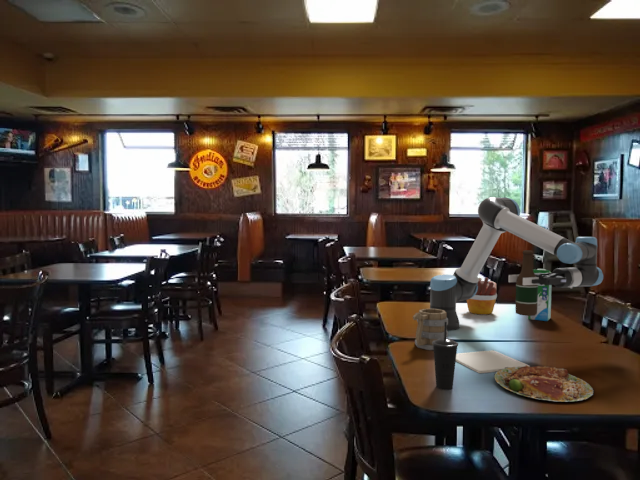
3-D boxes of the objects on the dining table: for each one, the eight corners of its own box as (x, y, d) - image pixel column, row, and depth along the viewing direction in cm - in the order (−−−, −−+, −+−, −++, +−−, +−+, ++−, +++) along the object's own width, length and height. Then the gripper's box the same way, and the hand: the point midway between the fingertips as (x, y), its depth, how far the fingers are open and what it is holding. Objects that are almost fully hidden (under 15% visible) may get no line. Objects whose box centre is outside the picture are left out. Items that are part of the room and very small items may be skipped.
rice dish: (607, 412, 139) (609, 392, 138) (502, 400, 143) (503, 382, 143) (575, 378, 166) (576, 362, 166) (487, 370, 171) (488, 354, 170)
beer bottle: (539, 316, 187) (541, 251, 185) (517, 315, 188) (518, 251, 187) (534, 312, 194) (536, 249, 193) (513, 311, 196) (515, 249, 194)
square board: (446, 356, 186) (446, 354, 186) (493, 352, 192) (493, 350, 192) (479, 373, 167) (479, 371, 167) (529, 368, 173) (529, 365, 173)
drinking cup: (428, 382, 157) (429, 319, 156) (452, 382, 158) (453, 319, 157) (435, 391, 150) (437, 324, 148) (461, 391, 150) (462, 324, 149)
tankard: (427, 340, 209) (428, 304, 208) (454, 346, 200) (455, 308, 199) (398, 349, 195) (398, 310, 194) (425, 356, 186) (426, 315, 185)
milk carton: (550, 318, 254) (552, 268, 252) (547, 321, 246) (549, 270, 245) (531, 315, 259) (532, 267, 257) (527, 319, 251) (529, 269, 250)
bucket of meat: (460, 308, 276) (461, 272, 275) (491, 309, 275) (492, 273, 274) (468, 316, 256) (469, 277, 255) (502, 317, 255) (503, 278, 254)
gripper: (586, 291, 186) (534, 294, 180) (546, 283, 206) (498, 286, 199) (586, 271, 186) (535, 273, 179) (546, 265, 205) (499, 267, 198)
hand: (516, 280), depth 189 cm, fingers closed on beer bottle, 7 cm apart
